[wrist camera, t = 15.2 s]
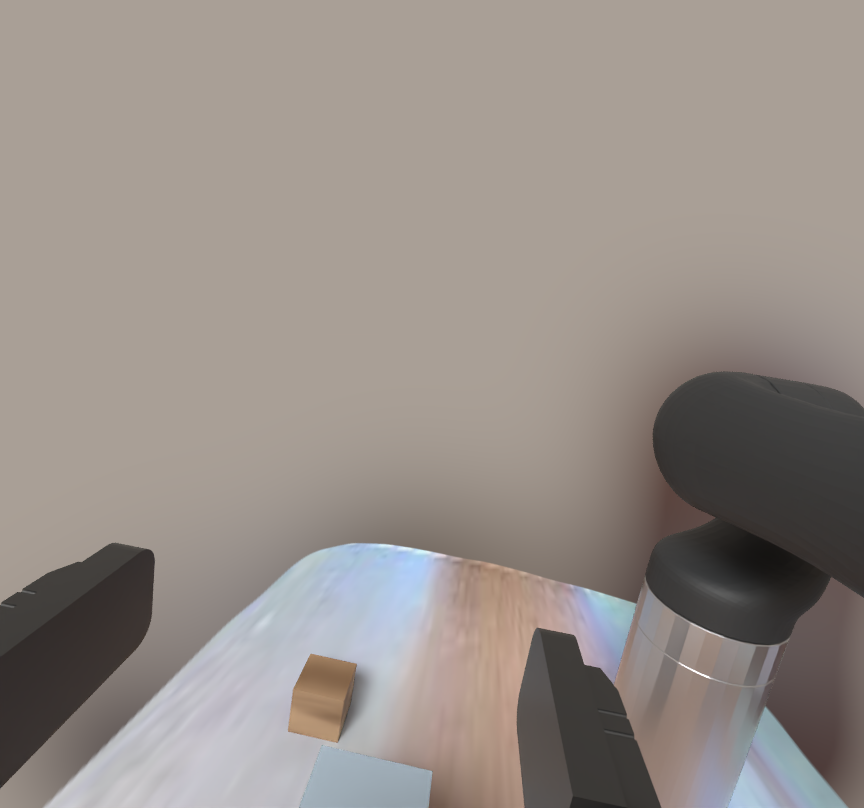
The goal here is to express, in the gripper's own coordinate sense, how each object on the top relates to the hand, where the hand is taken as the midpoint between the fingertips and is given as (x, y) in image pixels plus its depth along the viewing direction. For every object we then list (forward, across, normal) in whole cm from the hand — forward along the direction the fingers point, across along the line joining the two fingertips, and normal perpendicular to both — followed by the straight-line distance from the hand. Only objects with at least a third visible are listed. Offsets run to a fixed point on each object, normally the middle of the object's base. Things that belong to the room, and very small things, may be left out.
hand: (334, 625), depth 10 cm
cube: (+26, +5, +28) cm, 38 cm away
